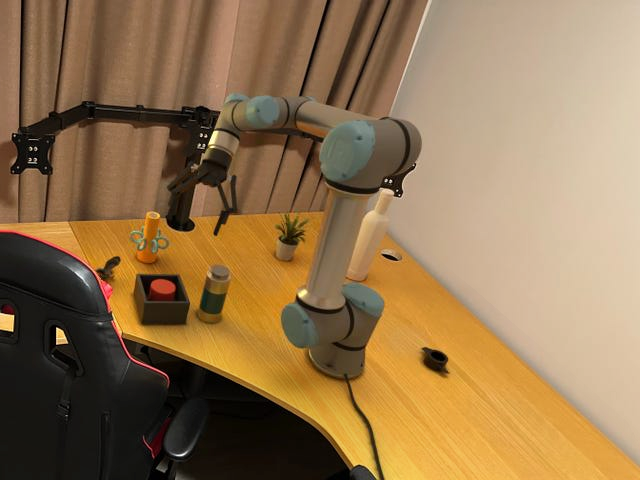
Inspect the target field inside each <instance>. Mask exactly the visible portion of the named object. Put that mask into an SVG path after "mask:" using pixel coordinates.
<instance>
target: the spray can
mask: <svg viewBox="0 0 640 480" xmlns="http://www.w3.org/2000/svg"><path fill="white" fill-rule="evenodd" d="M230 272H231V271H230V269H229V268H228V267H226V266H225V265H221V264H214V265H212V266H211V267H210V269H208V270H207V272H206V274H205V279H204V284H203V287H202V291H201V292H202V293H201V297H200V301H199V305H198V309H197V317H198V318H199V320H201V321H202V322H205V323H209V324H215V323H218V322H219V321H220V320H221V317H222V313H223V310H224V306H225V302H226V299H227V295H228V290H229V288H230V283H231V280H232V276H231V273H230Z"/></svg>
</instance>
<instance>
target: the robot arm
mask: <svg viewBox="0 0 640 480" xmlns="http://www.w3.org/2000/svg"><path fill="white" fill-rule="evenodd" d="M270 129H272V130H273V129H294V130H298V131H301V132H303V133H307V134H310V135H313V136H316V137H318V138H322V139H323V141H322V143H321V146H320V150H319V157H318V159H319V161H318V162H319V163H320V164H321V165H320V166H319V167H320V170H321V172H322V174H323V176H324V177H325V178H324V184H325V185H326V187H327V188H328V196H327V199H326V201H325V202H326V203H325V207H324V211H323V213H322V214H323V215H322V218H321V222H320V226H319V229H318V235H317V237H316V242H315V246H314V249H313V253H312V257H311V262H310V265H309V269H308V273H307V277H306V280H305V284H303V285H301V286H299V288H298V289H297V290H296V295H295V299H294V301H293V302H289V303H288V304H285V305H284V307H283V308H282V310H281V314H280V324H281V328H282V331H283V333H284V336H285V337H286V339H287V340H288V342H289V343H290V344H291V345H292V346H294V347H295V348H297V349H302V350H306V349H308V350H307V359H308V360H309V363H310V364H311V365H312V366H313V367H314V369H315V370H317V371H318V372H319V373H321V374H323V375H324V376H326V377H330V378H332V379H335V380H341V381H345V382H346V385H347V390H348V392H349V397H350V400H351V402H352V405H353V407H354V408H355V410H356V412H357V413H358V414H359V415H360V416H361V418H362V419H363V420H364V422H365V424H366V426H367V429H368V432H369V436H370V440H371V446H372V449H373V455H374V460H375V462H376V467H377V471H378V475H379V477H380V480H385V479H386V478H385V476H384V473H383V468H382V466H381V462H380V457H379V454H378V449H377V444H376V440H375V439H376V438H375V435H374V430H373V428H372V424H371V423H370V421H369V419H368V418H367V416H366V415H365V414H364V412H363V411H362V409H361V408H360V407H359V405H358V404H357V401H356V399H355V397H354V396H355V395H354V393H353V388H352V385H351V382H350V380H353V379H356V378H358V377H359V376H361V374H362V372H363V370H364V368H365V366H366V365H365V364H366V349H367V345H368V343H369V341H370V340H371V337H372V336H373V334H374V331H375V329H376V328H377V326H378V323H379V321H380V319H381V318H382V316H383V312H384V309H385V306H386V305H385V300H384V298H383V297H382V295H381V294H380V293H379V292H377V290H375V289H373V288H372V287H370V286H368V285H366V284H363V283H359V282H356V281H355V282H354V281H348V282H346V278H347V277H346V275H347V272H348V268H349V265H350V262H351V258H352V255H353V251H354V248H355V245H356V241H357V238H358V234H359V231H360V228H361V224H362V221H363V218H364V217H365V215H366V214H365V213H366V210H367V207H368V203H369V201H370V198H372V197H373V196H376V195H377V194H378V193H380V189H381V185H382V182H383V180H384V178H385V177H386V178H387V177H393V176H398V175H400V174H403V173H405V172H407V171H408V170H409V169H410V168H412V167H413V166H414V164H415V163H416V162H417V161H418V159H419V157H420V154H421V151H422V147H423V141H422V135H421V133H420V131H419V129H418V127H417V126H416V125H415V124H413V122H411V121H409V120H407V119H401V118H395V117H391V116H381V117H379V118H376V117H373V116H368V115H365V114H362V113H358V112H354V111H350V110H347V109H343V108H340V107H335V106H333V105H328V104H325V103H321V102H317V100H316V99H315V98H314V97H311V96H305V95H300V96H287V97H286V96H285V97H283V96H282V97H279V96H278V97H277V96H275V97H273V96H271V95H267V94H265V95H258V96H254V97H252V98H250V97H248V96H246V95H245V94H242V93H236V92H233V93H230V94H229V95H228V96H227V97H226V99H225V101H224V103H223V105H222V106H221V111H220V114H219V115H218V118H217V121H216V124H215V127H214V129H213V132H212V134H211V137H210V139H209V141H208V144H207V147H208V148H206V150H205V152H204V155H203V157H202V160H201V162H200V164H199V165H198V164H196V163H194V161H193V160H189V161H188V163H187V165H186V167H185V168H184V169H183V170H182V171H181V172H180V173H179V174H178V175H177V176H176V177H175V178H173V180H172V181H170V182H169V184H168V185H167V186H166V189H167V191H168V192H169V193H170V197H169V200H168V201H167V205H168V207H169V209H168V211H167V214H166V218H167V221H172V218H173V216H174V213H175V210H176V208H177V205H178V203H179V200H180V195H181V194H183V193H185V192H186V191H188V190H190V189H191V188H193V187H195V186H197V185H199V184H202V185H203V186H208V187H210V188H212V189H215V188H217V191H218V193H219V197H220V199H221V202H222V205H223V207H224V210H223V209H222V210H221V211H220V214H219V216H218V219H217V222H216V225H215V227H214V230H213V232H212V234H213V236H214V237H218V235H219V232H220V229H221V227H222V225H223V226H225V225H226V224H227V222H228V220H229V217H230V215H232V214H234V215H237V214H238V213H239V209H238V199H237V188H236V187H237V182H238V178H237V177H238V176H237V175H236V174H233V175H230V174H228V173H229V169H230V167H231V165H232V162H233V157H234V156H235V154H236V151H237V149H238V146H239V144H240V141H241V139H242V136H243V134H244V133H245V132H250V131H254V130H255V131H256V130H270ZM195 171H197V174H195V175H194V176H193V177H192V178H190V179H189V180H187V181H185V180H186V179H187V178H188V177H189V176H190V175H191V174H192V173H194V172H195ZM184 181H185V182H184ZM226 181H227V182H228V184H229V187H230V196H231V207H230V204H229V202H228V200H227V197H226V194H225V191H224V189H223V185H222V184H223V183H224V182H226Z"/></svg>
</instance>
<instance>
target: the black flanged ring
mask: <svg viewBox="0 0 640 480" xmlns="http://www.w3.org/2000/svg"><path fill="white" fill-rule="evenodd" d="M420 350H421V351H423V352H424V354H425V356H424V358H423V360H422V361H423V364H424V366H426V367H427V368H428V369H430V370H431V371H435V372H443V373H445V374H447V375H448V374H451V373H450V371H449V370H448V369H447V368H446V366H447V364H448V362H449V357H448V355H447V354H445V353H444V352H443V351H441V350H439V349H432V348H430V347H427V346H423V347H421V348H420Z"/></svg>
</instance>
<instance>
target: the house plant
mask: <svg viewBox="0 0 640 480" xmlns="http://www.w3.org/2000/svg"><path fill="white" fill-rule="evenodd" d="M272 210H273V211H275V212H276V213H277V214H279V216H280V217H281V219H282V220H281V221H279V223H280V224H281V225H280V224H275V225H274V228H275V229H277V230H279V231H281V232H277V233H276V234H279V235H278V237H277V243H276V251H275V257H276V258H277V259H278V260H281V261H284V262H285V261H290V260H292V257H293V256H294V254H295V252H296V250H297V249H298V246H299V245H300V242H301V241H302V242H303V244H305V243H306V238H307V236H306V234H305V233H306V232H307V230H306V229H305V228H312V226H311V225H307V224H308V223H309V221H310V220H313V219H315V217H313V216H312V217H308V218H306V219H301V220H299V218H300V217H299V216H300V212H297V214H296V216H295V218H294V220H293V221H291V220H290V218H291V217H290V214H289V212H288V211H287V210H283V214H284V218H283V216H282V214H281V213H280V212H279V211H277V210H275V209H273V208H272ZM284 219H285V221H284ZM305 225H307V226H305ZM304 226H305V227H304ZM303 236H304V237H305V238H304V237H303Z"/></svg>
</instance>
